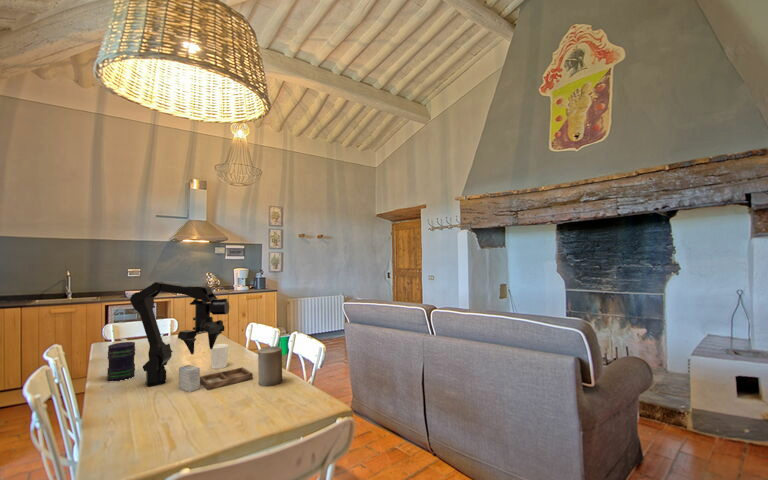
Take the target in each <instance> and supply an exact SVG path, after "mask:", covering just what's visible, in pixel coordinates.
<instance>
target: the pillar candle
mask: <svg viewBox="0 0 768 480" xmlns="http://www.w3.org/2000/svg"><path fill="white" fill-rule="evenodd" d="M257 355H258V357H257V358H258V363H257V364H258V365H257V366H258V370H257V371H258V372H257V374H258V376H257V377H258V385H260V386H262V387H270V386H271V387H272V386H276V385H278V384H281V383H282V382H283V348H282V347H281V346H272V345H271V346H266V347H261V348H259V349H258V350H257Z"/></svg>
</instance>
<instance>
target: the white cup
mask: <svg viewBox="0 0 768 480" xmlns="http://www.w3.org/2000/svg"><path fill="white" fill-rule="evenodd" d="M209 349H210V348H209ZM228 358H229V344H228V343H218V344H214V346H213V349H210V362H211V369H213V370H220V369H224V368H226V367H228Z"/></svg>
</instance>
